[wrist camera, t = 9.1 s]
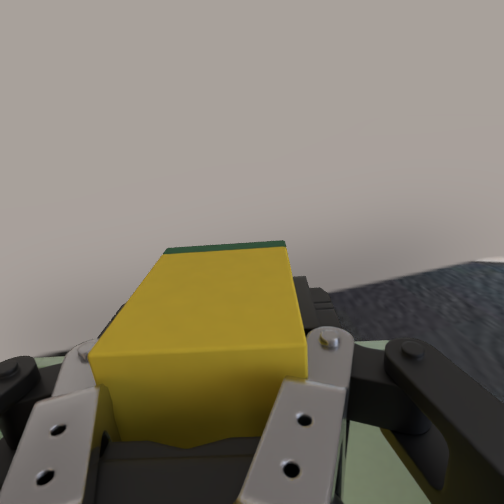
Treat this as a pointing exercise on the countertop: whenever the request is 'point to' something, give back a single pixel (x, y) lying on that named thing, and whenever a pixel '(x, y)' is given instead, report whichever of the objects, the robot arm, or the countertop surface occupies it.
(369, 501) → the tray
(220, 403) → the sponge
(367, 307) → the countertop surface
